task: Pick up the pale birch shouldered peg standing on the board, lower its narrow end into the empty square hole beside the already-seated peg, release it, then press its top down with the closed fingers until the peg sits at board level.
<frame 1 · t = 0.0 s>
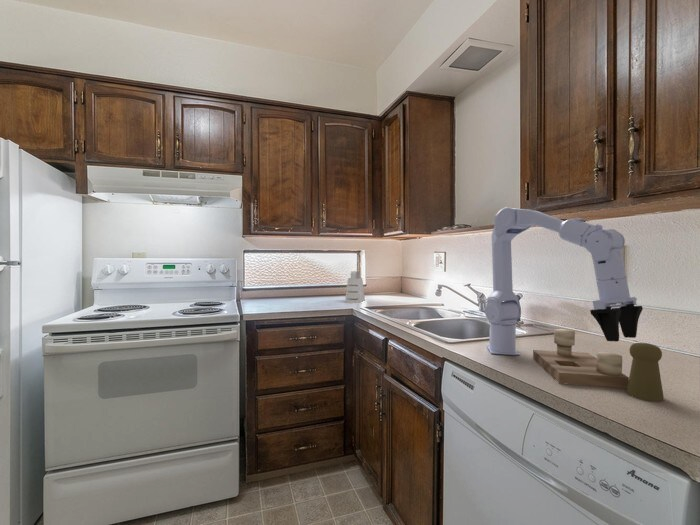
hand: (621, 339, 79), 11 cm above the worktop, tool pointing down, fingers open, 7 cm apart
peg: (564, 354, 95), point 2 cm above the worktop, touching board
grater: (355, 302, 223), on the worktop
board: (574, 371, 88), on the worktop
olive pawn piece: (644, 396, 73), on the worktop
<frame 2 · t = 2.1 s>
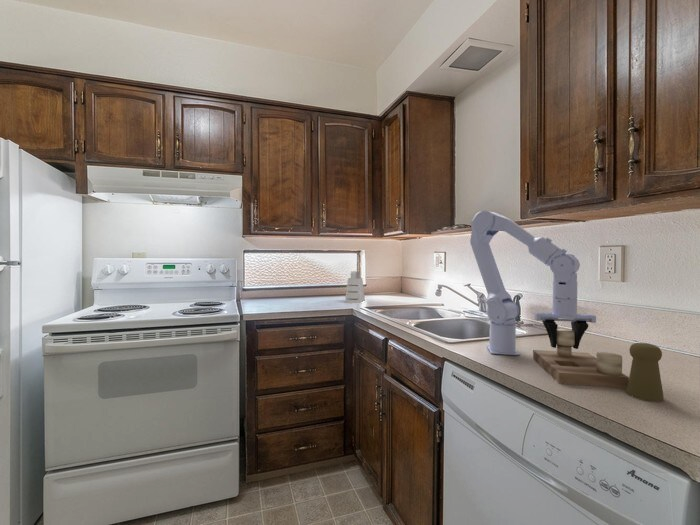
hand: (564, 347, 95), 4 cm above the worktop, tool pointing down, fingers closed on peg, 5 cm apart
peg: (564, 354, 95), point 2 cm above the worktop, touching board, gripper
everything else where it was.
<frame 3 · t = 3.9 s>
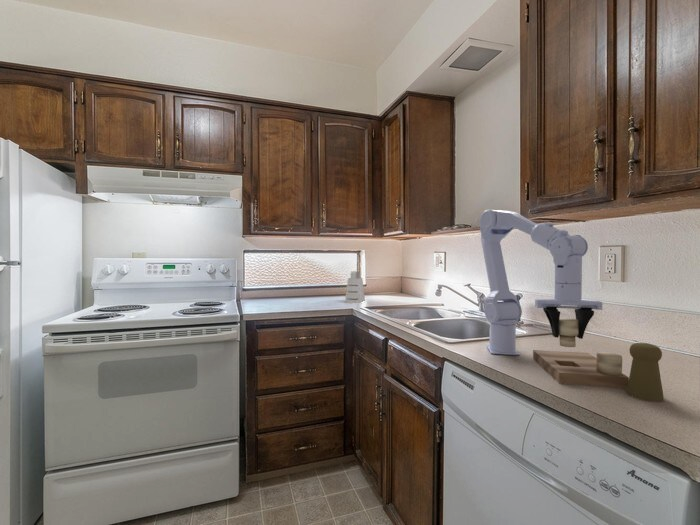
hand: (567, 337, 87), 9 cm above the worktop, tool pointing down, fingers closed on peg, 5 cm apart
peg: (567, 345, 87), point 7 cm above the worktop, touching gripper
everything else where it was.
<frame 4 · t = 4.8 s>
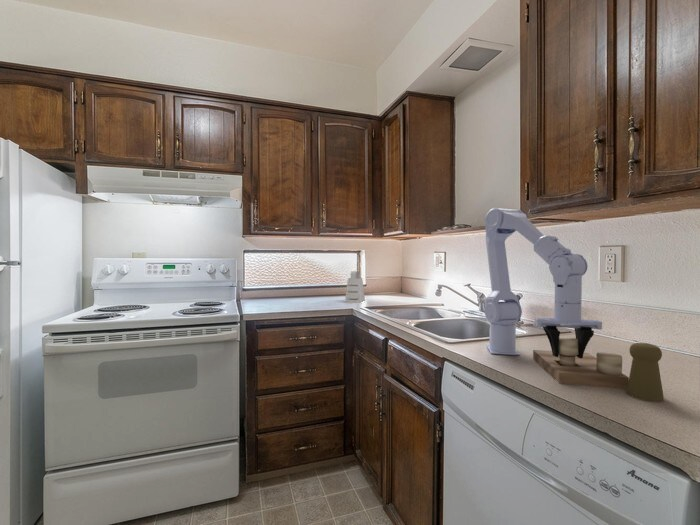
hand: (567, 356, 87), 4 cm above the worktop, tool pointing down, fingers closed on peg, 5 cm apart
peg: (567, 364, 87), point 2 cm above the worktop, touching gripper
everything else where it was.
when the fingers open (3 cm above the worktop, at t = 5.6 s): peg drops 1 cm, resting in board.
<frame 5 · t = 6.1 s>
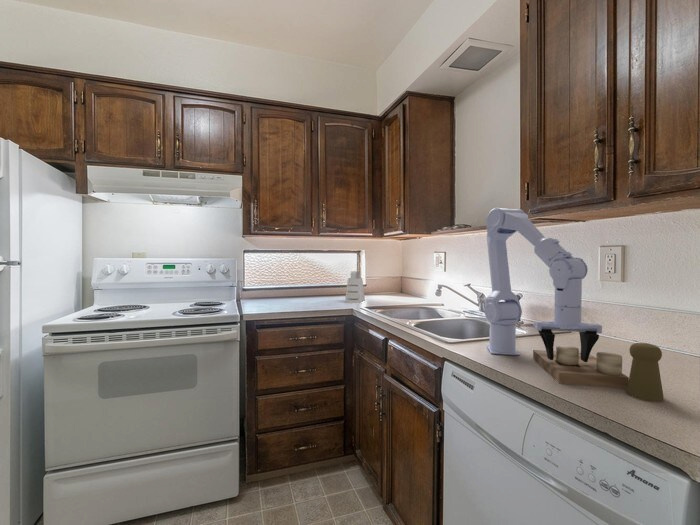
hand: (567, 359, 87), 3 cm above the worktop, tool pointing down, fingers open, 7 cm apart
peg: (567, 373, 87), resting in board
everything else where it was.
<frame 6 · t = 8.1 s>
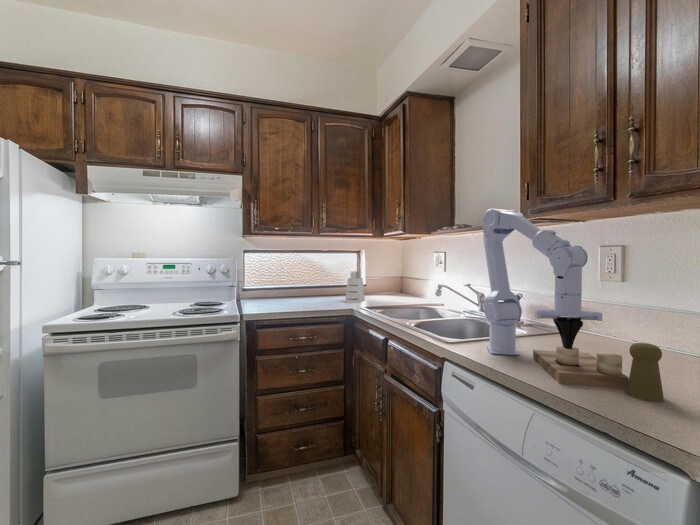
hand: (567, 348, 87), 6 cm above the worktop, tool pointing down, fingers closed, pressing on peg
peg: (567, 373, 87), resting in board, touching gripper
everything else where it was.
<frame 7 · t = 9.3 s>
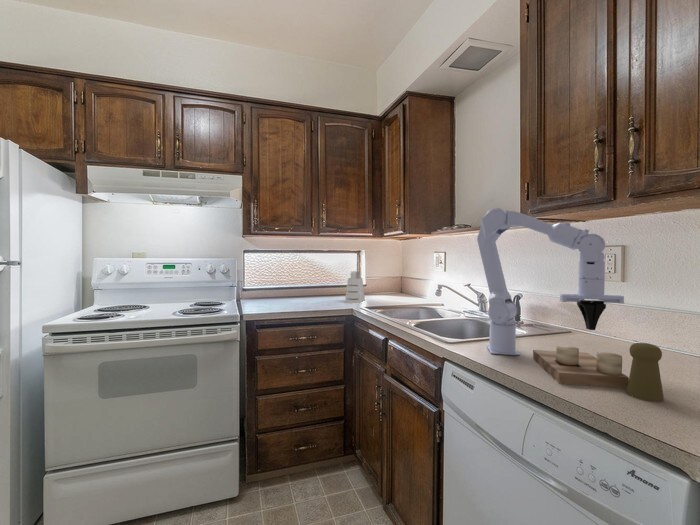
hand: (590, 329, 93), 10 cm above the worktop, tool pointing down, fingers closed
peg: (567, 373, 87), resting in board
everything else where it was.
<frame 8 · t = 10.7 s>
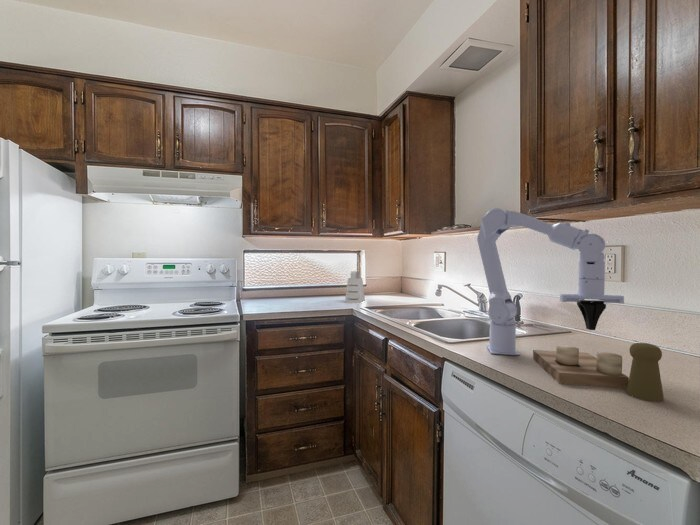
hand: (590, 329, 93), 10 cm above the worktop, tool pointing down, fingers closed
nothing on the worktop moved.
at the end: peg 0.1 cm from the target spot on the board, point 0.0 cm above the board's base; peg tilted 0°; the gripper is holding nothing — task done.
